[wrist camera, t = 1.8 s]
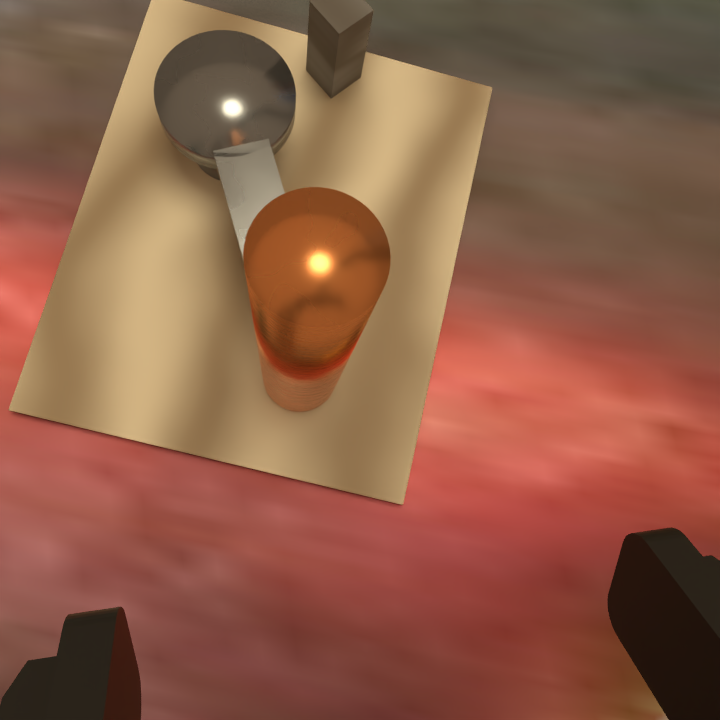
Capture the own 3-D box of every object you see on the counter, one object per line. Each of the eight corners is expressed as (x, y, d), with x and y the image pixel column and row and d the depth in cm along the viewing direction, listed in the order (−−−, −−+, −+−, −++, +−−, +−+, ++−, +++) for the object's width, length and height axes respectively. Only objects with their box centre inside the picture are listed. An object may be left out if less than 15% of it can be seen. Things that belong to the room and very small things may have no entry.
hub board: (489, 94, 36) (525, 23, 31) (400, 504, 32) (425, 506, 26) (156, 0, 35) (133, -91, 30) (13, 411, 31) (-45, 393, 25)
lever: (155, 98, 33) (43, -254, 18) (275, 74, 34) (270, -280, 19) (245, 428, 31) (207, 360, 15) (372, 392, 32) (461, 292, 16)
